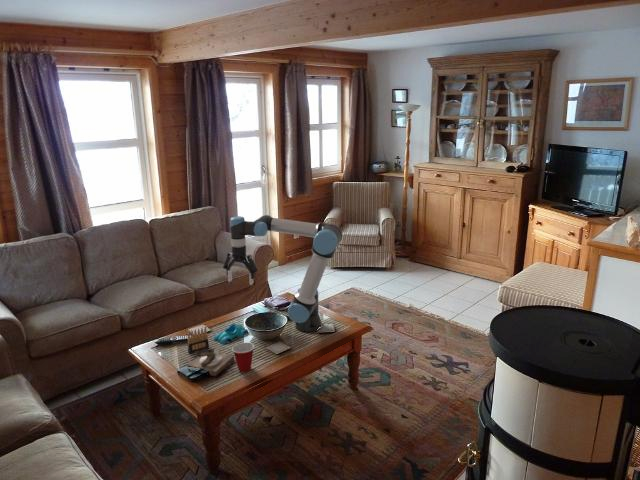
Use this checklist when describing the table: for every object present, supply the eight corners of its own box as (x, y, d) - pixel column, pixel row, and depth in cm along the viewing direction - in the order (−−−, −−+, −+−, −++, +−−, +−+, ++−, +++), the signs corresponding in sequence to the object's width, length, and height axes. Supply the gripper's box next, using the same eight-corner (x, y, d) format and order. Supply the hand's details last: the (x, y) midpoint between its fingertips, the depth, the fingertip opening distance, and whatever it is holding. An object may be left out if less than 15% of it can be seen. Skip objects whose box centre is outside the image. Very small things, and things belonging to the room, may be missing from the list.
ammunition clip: (189, 353, 246) (187, 332, 243) (188, 352, 248) (186, 330, 244) (209, 347, 252) (207, 326, 248) (207, 346, 253) (206, 325, 250)
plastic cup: (248, 360, 238) (247, 339, 235) (260, 369, 230) (258, 347, 227) (229, 368, 232) (227, 345, 229) (240, 377, 224) (238, 354, 220)
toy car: (249, 333, 267) (249, 322, 265) (224, 346, 254) (223, 334, 252) (237, 328, 274) (236, 317, 272) (211, 339, 261) (210, 328, 259)
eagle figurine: (207, 352, 239) (193, 357, 231) (213, 342, 236) (200, 347, 228) (216, 363, 236) (203, 369, 228) (223, 354, 233) (210, 359, 226)
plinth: (234, 360, 239) (234, 354, 238) (215, 376, 225) (215, 370, 224) (207, 354, 245) (207, 348, 244) (187, 369, 231) (187, 364, 230)
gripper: (262, 245, 256) (264, 283, 261) (223, 241, 265) (225, 277, 271) (255, 249, 249) (257, 287, 255) (215, 244, 258) (217, 281, 264)
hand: (240, 282), depth 263 cm, fingers open, 13 cm apart
